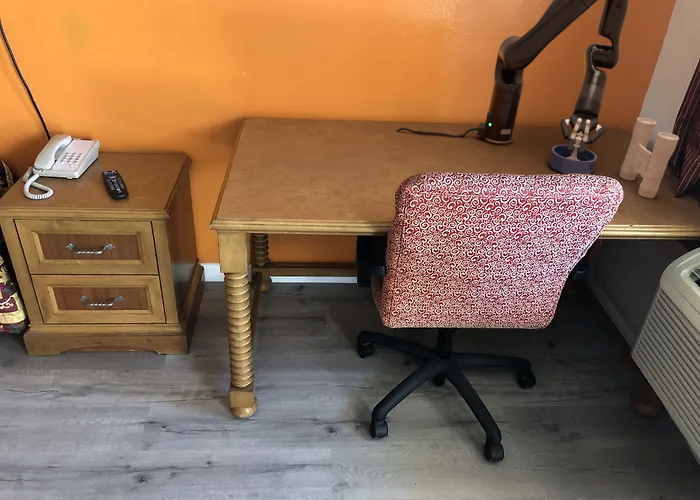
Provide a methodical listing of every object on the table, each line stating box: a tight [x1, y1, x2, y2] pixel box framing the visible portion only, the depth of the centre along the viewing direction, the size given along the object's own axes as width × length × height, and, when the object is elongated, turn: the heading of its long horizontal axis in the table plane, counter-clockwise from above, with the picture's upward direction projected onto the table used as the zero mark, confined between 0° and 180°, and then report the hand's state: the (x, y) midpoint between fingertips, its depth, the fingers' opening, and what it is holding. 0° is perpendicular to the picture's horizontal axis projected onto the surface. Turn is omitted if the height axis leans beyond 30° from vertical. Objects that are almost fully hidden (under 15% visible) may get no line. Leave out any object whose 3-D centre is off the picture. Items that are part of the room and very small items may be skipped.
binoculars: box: [618, 116, 680, 199], centre depth 175 cm, size 17×5×18 cm, turn 5°
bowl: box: [548, 144, 598, 175], centre depth 186 cm, size 13×13×5 cm
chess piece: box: [567, 132, 583, 161], centre depth 184 cm, size 5×5×10 cm
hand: (574, 153), depth 183 cm, fingers closed on chess piece
